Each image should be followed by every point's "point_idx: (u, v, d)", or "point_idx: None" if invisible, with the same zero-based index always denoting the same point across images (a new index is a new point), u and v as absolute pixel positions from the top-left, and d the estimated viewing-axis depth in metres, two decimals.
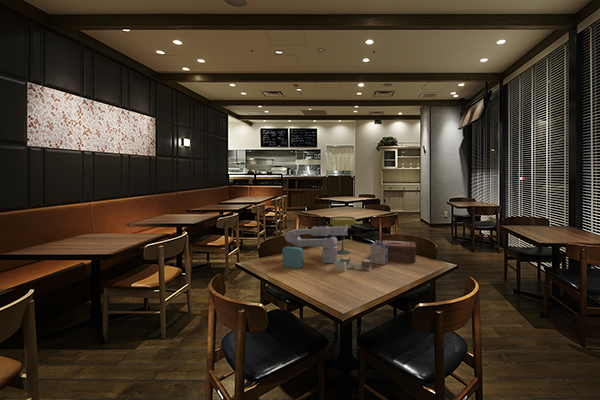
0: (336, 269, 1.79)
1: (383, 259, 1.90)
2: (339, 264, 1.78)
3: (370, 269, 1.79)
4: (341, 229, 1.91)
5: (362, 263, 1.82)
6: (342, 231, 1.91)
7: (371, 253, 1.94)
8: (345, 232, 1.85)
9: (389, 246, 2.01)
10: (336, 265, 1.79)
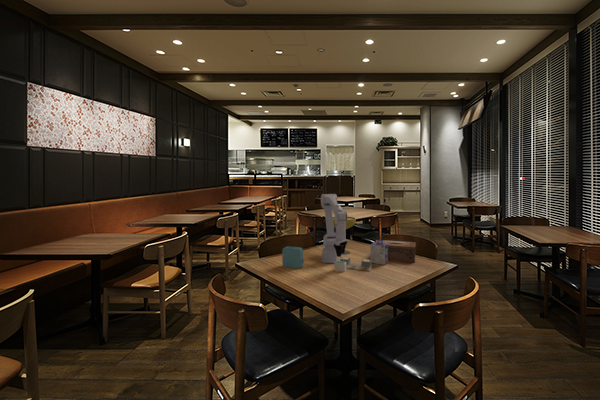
0: (336, 269, 1.79)
1: (383, 259, 1.90)
2: (339, 264, 1.78)
3: (370, 269, 1.79)
4: (341, 236, 1.76)
5: (362, 263, 1.82)
6: (339, 237, 1.76)
7: (371, 253, 1.94)
8: (337, 243, 1.72)
9: (388, 246, 2.01)
10: (336, 265, 1.79)
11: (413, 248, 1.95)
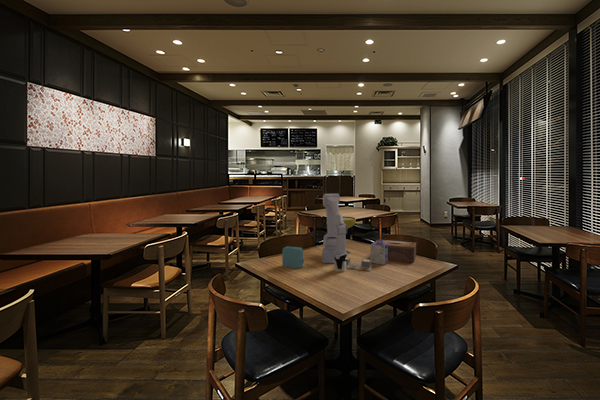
0: (336, 269, 1.79)
1: (383, 259, 1.90)
2: None
3: (370, 269, 1.79)
4: (341, 249, 1.77)
5: (362, 263, 1.82)
6: (339, 250, 1.77)
7: (371, 253, 1.94)
8: (337, 257, 1.73)
9: (388, 246, 2.01)
10: (336, 265, 1.79)
11: (412, 248, 1.95)
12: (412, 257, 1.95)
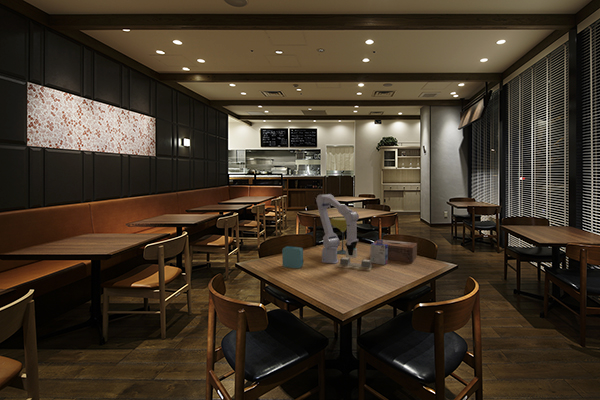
0: (347, 255, 1.83)
1: (383, 259, 1.90)
2: None
3: (370, 269, 1.79)
4: (352, 235, 1.80)
5: (362, 263, 1.82)
6: (350, 236, 1.80)
7: (371, 253, 1.94)
8: (348, 243, 1.76)
9: None
10: (347, 251, 1.83)
11: (411, 248, 1.94)
12: (411, 257, 1.95)
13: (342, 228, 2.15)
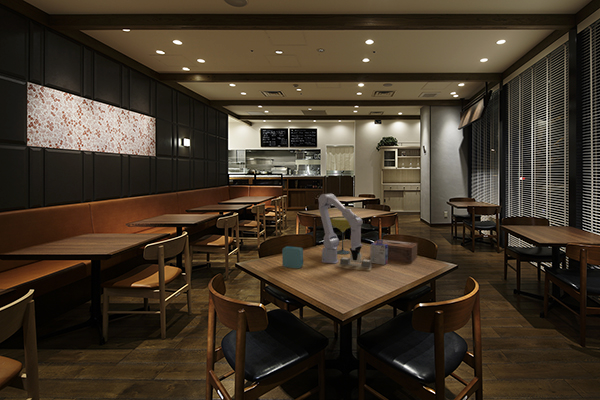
0: (351, 260, 1.85)
1: (383, 259, 1.90)
2: None
3: (370, 269, 1.79)
4: (357, 240, 1.82)
5: (362, 263, 1.82)
6: (354, 241, 1.82)
7: (371, 253, 1.94)
8: (353, 248, 1.78)
9: None
10: (351, 256, 1.84)
11: (410, 249, 1.94)
12: (410, 257, 1.94)
13: (342, 228, 2.15)
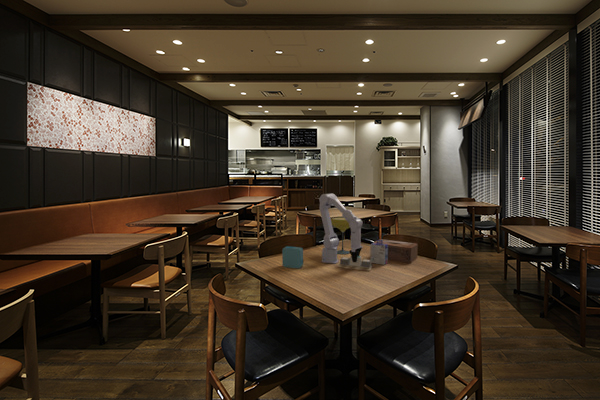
0: (351, 263, 1.85)
1: (383, 259, 1.90)
2: None
3: (370, 269, 1.79)
4: (357, 242, 1.82)
5: (362, 263, 1.82)
6: (354, 243, 1.82)
7: (371, 253, 1.94)
8: (353, 250, 1.78)
9: None
10: (351, 259, 1.85)
11: (409, 249, 1.94)
12: (409, 258, 1.94)
13: (342, 228, 2.15)
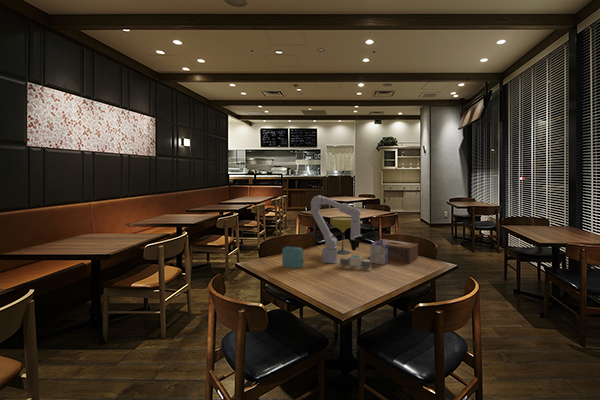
0: (351, 263, 1.85)
1: (383, 259, 1.90)
2: (354, 258, 1.84)
3: (370, 269, 1.79)
4: (356, 231, 1.89)
5: (362, 263, 1.82)
6: (354, 232, 1.89)
7: (371, 253, 1.94)
8: (352, 238, 1.86)
9: None
10: (351, 259, 1.85)
11: (408, 249, 1.93)
12: (408, 258, 1.94)
13: (342, 228, 2.15)
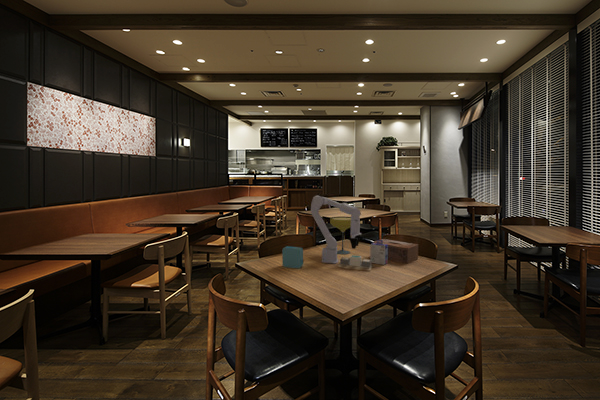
0: (351, 263, 1.85)
1: (383, 259, 1.90)
2: (354, 258, 1.84)
3: (370, 269, 1.79)
4: (356, 229, 1.94)
5: (362, 263, 1.82)
6: (354, 230, 1.94)
7: (371, 253, 1.94)
8: (352, 236, 1.90)
9: None
10: (351, 259, 1.85)
11: (406, 249, 1.93)
12: (406, 258, 1.93)
13: (342, 228, 2.15)
